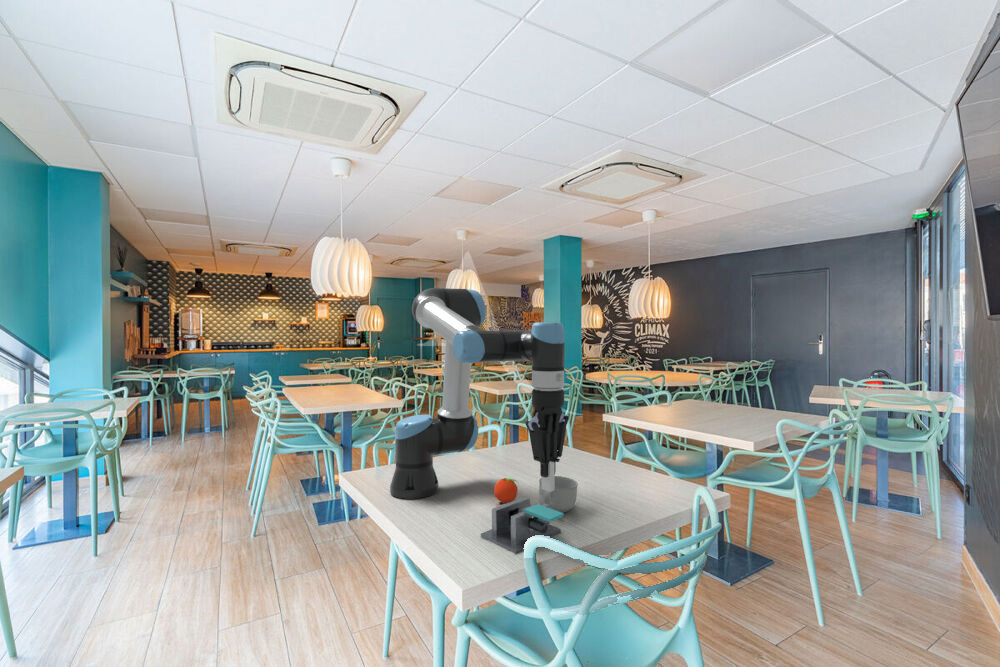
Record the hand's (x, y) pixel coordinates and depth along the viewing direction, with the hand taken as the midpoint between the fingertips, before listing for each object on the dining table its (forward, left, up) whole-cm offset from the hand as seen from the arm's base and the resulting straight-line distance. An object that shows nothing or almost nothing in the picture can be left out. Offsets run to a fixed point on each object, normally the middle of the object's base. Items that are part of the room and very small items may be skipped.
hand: (547, 489), depth 107 cm
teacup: (-13, +18, -13) cm, 26 cm away
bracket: (-9, 0, -13) cm, 16 cm away
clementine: (-27, +13, -13) cm, 33 cm away
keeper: (-2, 0, -6) cm, 6 cm away
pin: (-8, 0, -12) cm, 14 cm away
